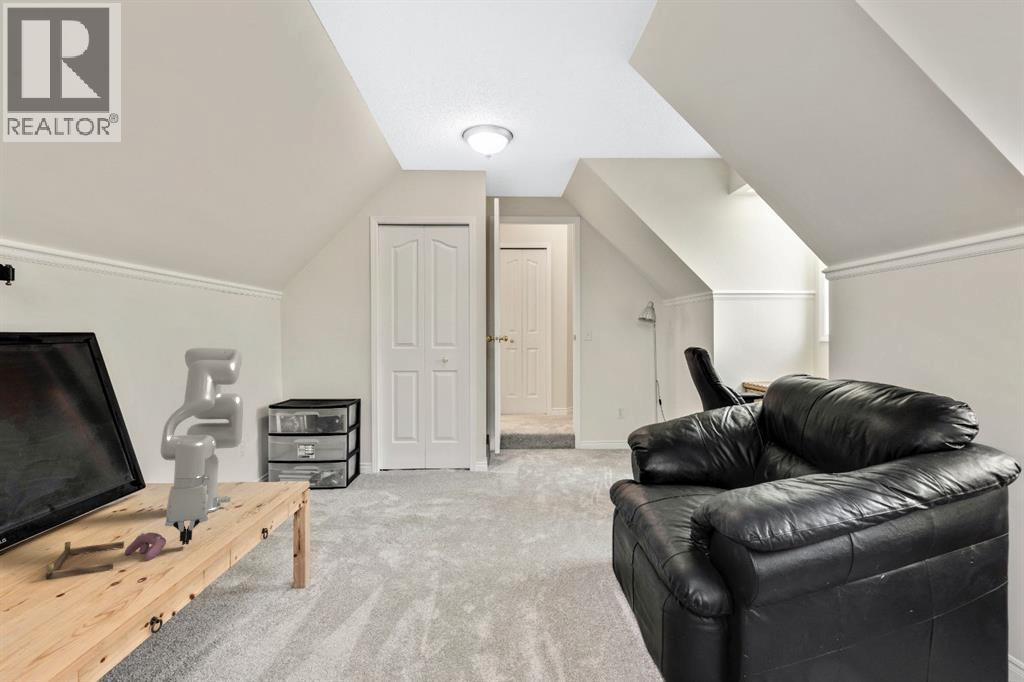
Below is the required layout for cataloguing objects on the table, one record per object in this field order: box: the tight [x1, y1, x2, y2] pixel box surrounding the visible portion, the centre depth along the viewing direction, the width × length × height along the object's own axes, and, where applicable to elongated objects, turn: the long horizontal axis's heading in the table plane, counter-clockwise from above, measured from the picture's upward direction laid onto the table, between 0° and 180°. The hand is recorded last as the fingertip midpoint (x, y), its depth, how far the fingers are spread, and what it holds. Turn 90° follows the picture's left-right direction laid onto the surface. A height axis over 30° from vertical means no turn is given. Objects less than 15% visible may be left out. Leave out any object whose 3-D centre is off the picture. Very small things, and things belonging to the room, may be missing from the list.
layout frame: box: [45, 541, 125, 581], centre depth 132 cm, size 13×16×4 cm
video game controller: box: [124, 532, 167, 561], centre depth 138 cm, size 10×5×7 cm, turn 72°
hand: (185, 542), depth 143 cm, fingers closed
